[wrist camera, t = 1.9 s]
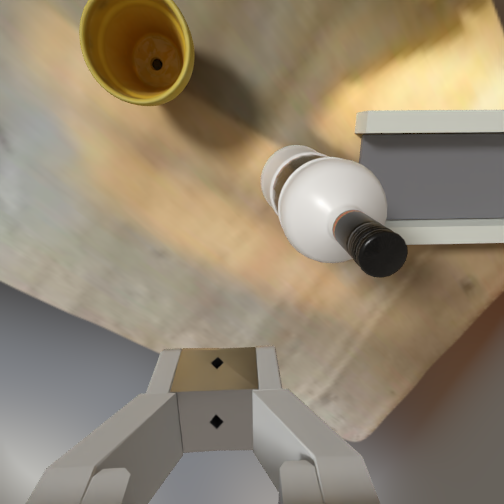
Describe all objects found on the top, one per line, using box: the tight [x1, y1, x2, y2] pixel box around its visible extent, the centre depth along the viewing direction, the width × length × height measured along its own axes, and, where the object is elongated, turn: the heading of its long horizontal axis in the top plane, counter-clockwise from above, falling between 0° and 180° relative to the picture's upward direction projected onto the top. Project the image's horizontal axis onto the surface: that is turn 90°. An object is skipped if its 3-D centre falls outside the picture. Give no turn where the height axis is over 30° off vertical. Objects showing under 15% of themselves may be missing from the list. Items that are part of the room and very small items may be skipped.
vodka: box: [261, 145, 408, 277], centre depth 30 cm, size 9×9×30 cm
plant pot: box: [79, 0, 194, 106], centre depth 35 cm, size 10×10×10 cm
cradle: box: [355, 110, 504, 245], centre depth 43 cm, size 17×30×5 cm, turn 90°
